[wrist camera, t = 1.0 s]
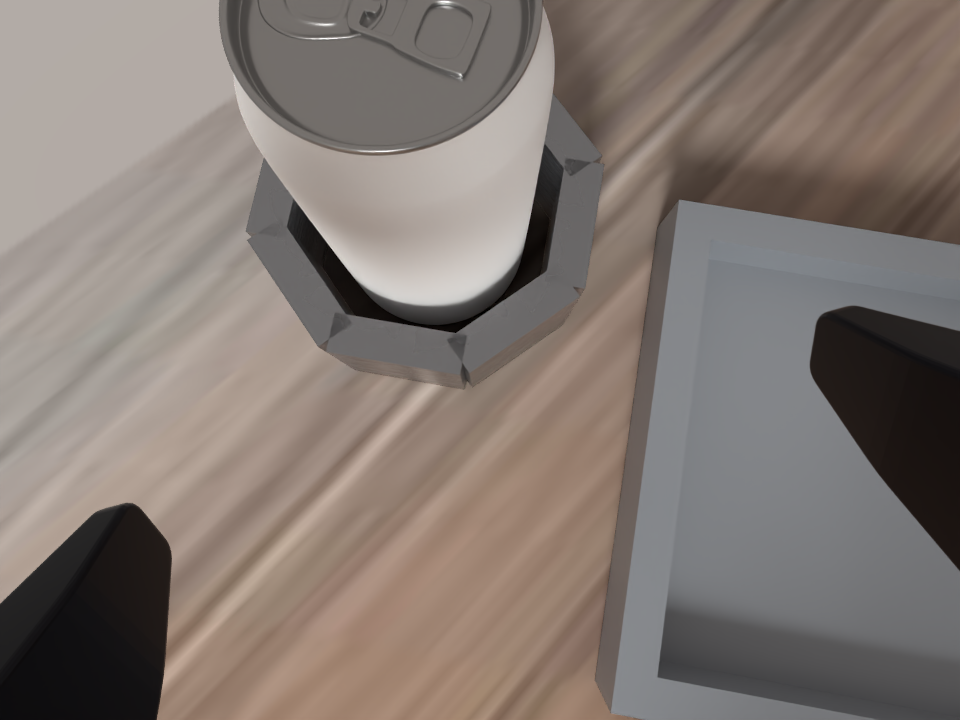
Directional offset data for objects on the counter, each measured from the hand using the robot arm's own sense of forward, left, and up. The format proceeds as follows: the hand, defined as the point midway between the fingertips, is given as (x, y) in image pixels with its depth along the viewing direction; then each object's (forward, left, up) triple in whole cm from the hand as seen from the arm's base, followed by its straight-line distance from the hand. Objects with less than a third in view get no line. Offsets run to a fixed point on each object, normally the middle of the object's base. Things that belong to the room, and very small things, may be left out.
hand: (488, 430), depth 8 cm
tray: (+1, -13, -13) cm, 19 cm away
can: (+7, +3, -14) cm, 16 cm away
